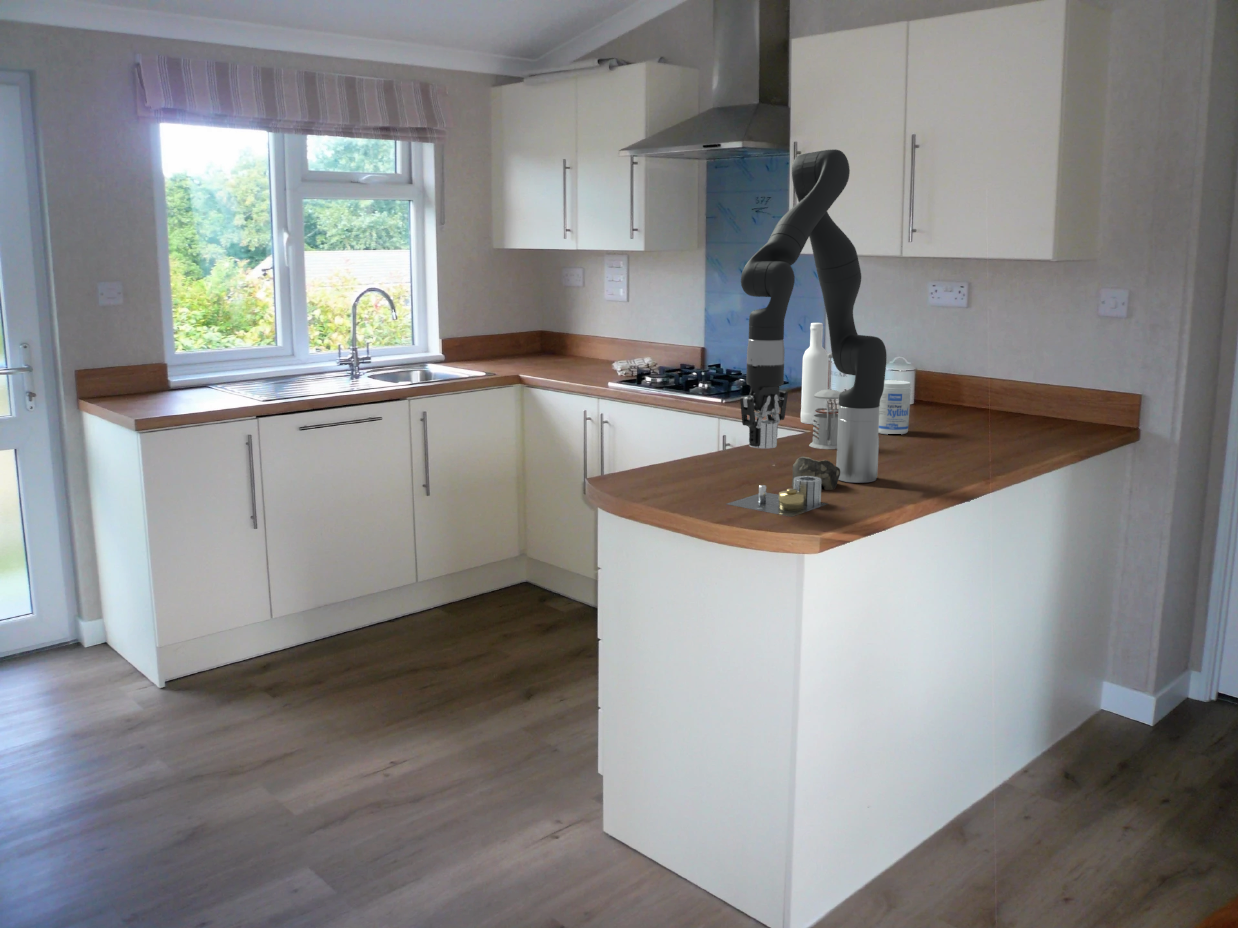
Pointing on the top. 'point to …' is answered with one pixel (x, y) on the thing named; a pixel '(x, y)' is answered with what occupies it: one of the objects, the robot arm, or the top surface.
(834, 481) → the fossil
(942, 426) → the top surface
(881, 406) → the supplement tub
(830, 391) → the french press
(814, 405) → the bottle
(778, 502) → the carrier
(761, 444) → the planet gear
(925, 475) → the top surface
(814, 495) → the grey hollow pipe
